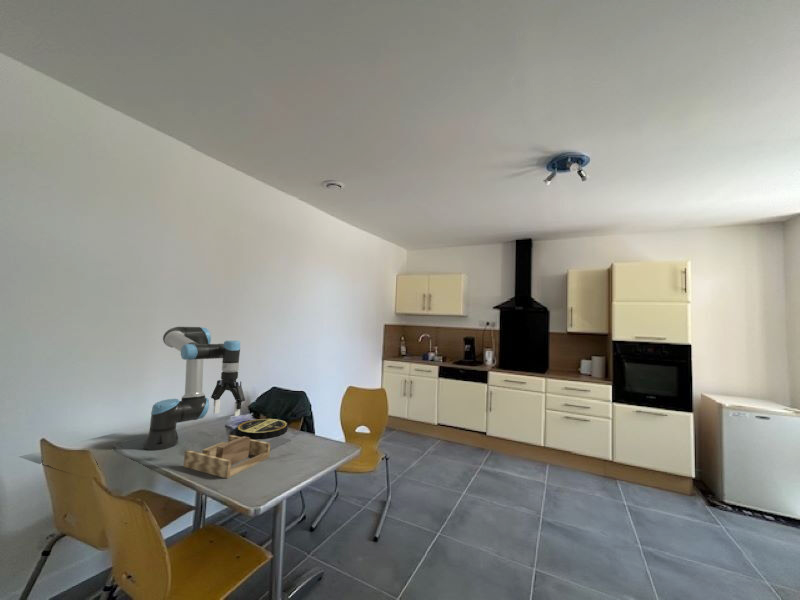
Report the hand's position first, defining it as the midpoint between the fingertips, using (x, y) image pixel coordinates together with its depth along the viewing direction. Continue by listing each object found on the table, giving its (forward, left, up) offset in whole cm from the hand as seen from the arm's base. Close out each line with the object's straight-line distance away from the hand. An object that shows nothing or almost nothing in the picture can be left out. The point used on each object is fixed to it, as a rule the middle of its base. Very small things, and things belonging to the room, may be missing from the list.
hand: (226, 414), depth 158 cm
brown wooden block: (+6, 0, -22) cm, 23 cm away
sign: (-15, +42, -23) cm, 50 cm away
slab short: (-6, +1, -20) cm, 20 cm away
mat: (+6, +27, -22) cm, 36 cm away
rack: (+4, 0, -22) cm, 22 cm away
